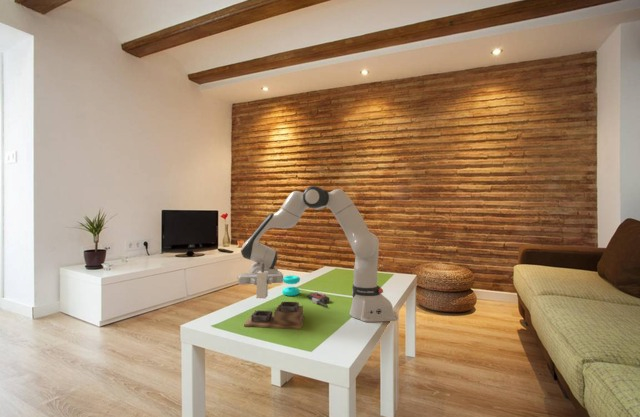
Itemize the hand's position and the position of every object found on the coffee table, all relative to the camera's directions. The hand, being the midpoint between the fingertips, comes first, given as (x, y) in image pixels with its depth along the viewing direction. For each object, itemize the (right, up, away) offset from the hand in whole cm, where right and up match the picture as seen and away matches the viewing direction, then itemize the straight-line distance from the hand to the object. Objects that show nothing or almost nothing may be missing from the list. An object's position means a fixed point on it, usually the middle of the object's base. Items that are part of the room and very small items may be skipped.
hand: (262, 282), depth 139 cm
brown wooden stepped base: (+5, -17, +1) cm, 18 cm away
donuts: (+8, -17, +45) cm, 48 cm away
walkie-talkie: (+26, -18, +31) cm, 44 cm away
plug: (0, -7, +1) cm, 7 cm away
